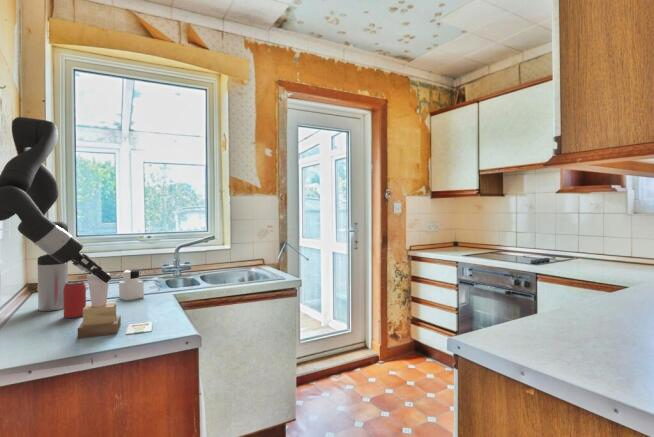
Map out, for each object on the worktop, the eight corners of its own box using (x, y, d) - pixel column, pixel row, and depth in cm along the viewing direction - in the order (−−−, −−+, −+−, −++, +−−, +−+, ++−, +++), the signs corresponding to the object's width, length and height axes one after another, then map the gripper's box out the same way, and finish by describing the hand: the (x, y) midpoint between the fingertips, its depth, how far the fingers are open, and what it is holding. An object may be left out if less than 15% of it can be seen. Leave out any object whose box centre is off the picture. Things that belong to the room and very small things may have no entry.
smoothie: (115, 304, 114) (114, 259, 114) (93, 309, 108) (92, 262, 108) (104, 302, 117) (104, 258, 117) (82, 306, 112) (81, 260, 112)
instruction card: (128, 325, 119) (128, 324, 119) (152, 322, 122) (152, 321, 122) (125, 334, 109) (125, 333, 109) (151, 331, 112) (151, 330, 112)
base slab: (84, 328, 116) (84, 319, 116) (120, 324, 120) (120, 315, 120) (77, 338, 106) (77, 328, 106) (116, 333, 110) (116, 323, 110)
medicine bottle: (135, 295, 162) (135, 268, 162) (144, 297, 158) (143, 269, 158) (118, 298, 156) (118, 270, 156) (127, 300, 152) (126, 272, 152)
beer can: (74, 319, 126) (74, 284, 126) (58, 318, 127) (58, 283, 127) (90, 314, 132) (90, 281, 132) (75, 313, 134) (74, 280, 133)
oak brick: (87, 320, 114) (86, 304, 114) (116, 317, 117) (116, 301, 117) (83, 325, 109) (82, 309, 109) (113, 322, 112) (113, 306, 112)
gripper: (75, 235, 102) (121, 271, 111) (64, 233, 112) (107, 266, 121) (52, 256, 99) (101, 291, 107) (43, 252, 108) (89, 285, 117)
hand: (104, 278), depth 114 cm, fingers open, 8 cm apart
